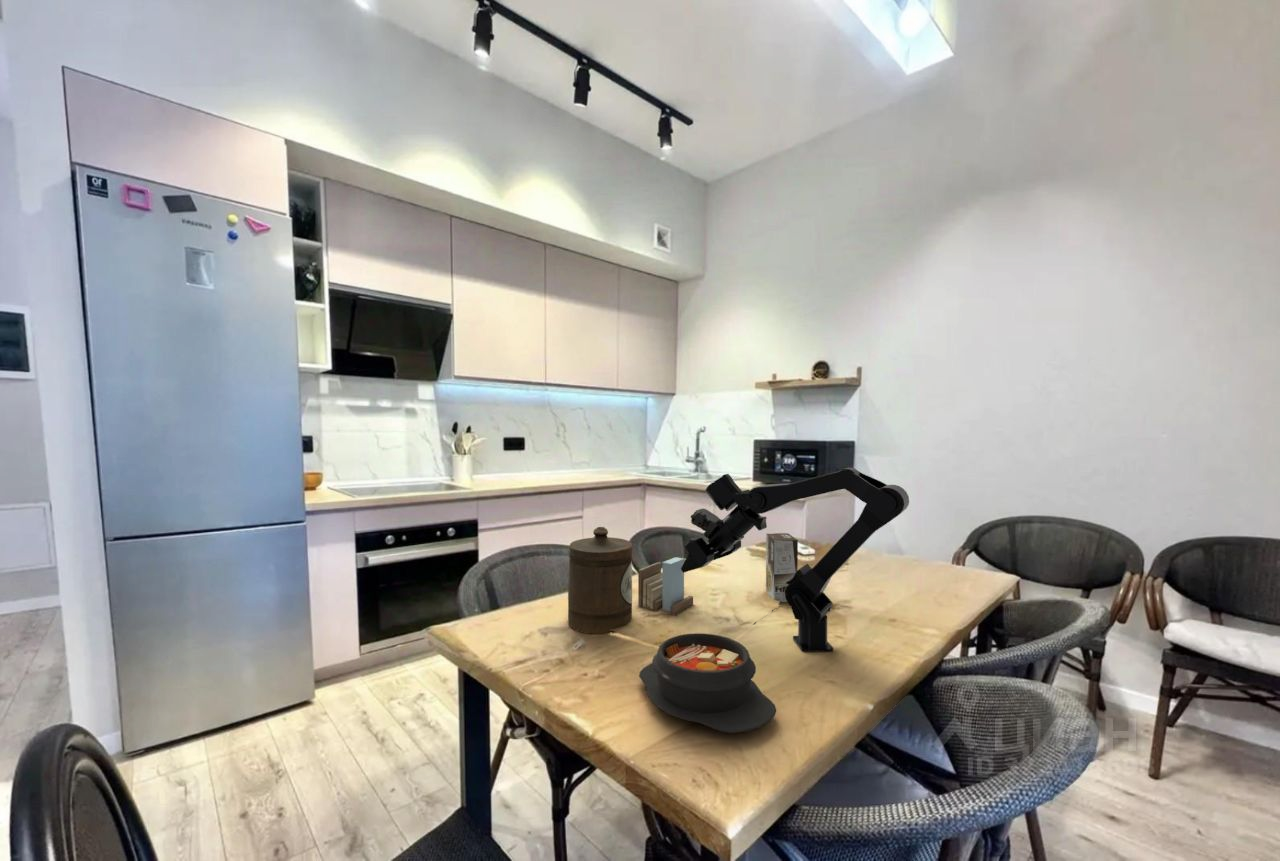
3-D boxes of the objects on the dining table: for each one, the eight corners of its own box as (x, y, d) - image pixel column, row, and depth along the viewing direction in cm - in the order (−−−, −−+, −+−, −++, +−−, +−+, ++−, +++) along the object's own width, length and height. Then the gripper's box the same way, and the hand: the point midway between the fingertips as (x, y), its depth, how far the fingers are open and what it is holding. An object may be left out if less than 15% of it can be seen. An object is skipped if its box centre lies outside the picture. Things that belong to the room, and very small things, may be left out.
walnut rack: (694, 607, 126) (694, 568, 126) (675, 619, 119) (675, 577, 119) (658, 599, 133) (658, 561, 133) (638, 609, 126) (638, 569, 126)
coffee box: (798, 602, 130) (798, 540, 130) (773, 602, 130) (773, 539, 130) (788, 591, 139) (789, 532, 139) (765, 590, 140) (765, 532, 139)
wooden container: (641, 628, 114) (641, 530, 113) (577, 639, 108) (577, 536, 108) (619, 606, 127) (619, 519, 127) (561, 614, 122) (561, 523, 122)
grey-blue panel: (684, 604, 127) (684, 558, 126) (671, 611, 122) (671, 564, 122) (675, 602, 128) (675, 557, 128) (662, 609, 123) (662, 562, 123)
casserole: (614, 687, 88) (614, 639, 88) (693, 658, 99) (693, 615, 99) (718, 764, 68) (718, 702, 68) (802, 716, 79) (802, 663, 79)
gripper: (730, 494, 126) (691, 533, 132) (692, 503, 111) (650, 546, 117) (759, 530, 121) (718, 568, 128) (725, 544, 106) (679, 587, 113)
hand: (692, 566), depth 122 cm, fingers open, 9 cm apart
